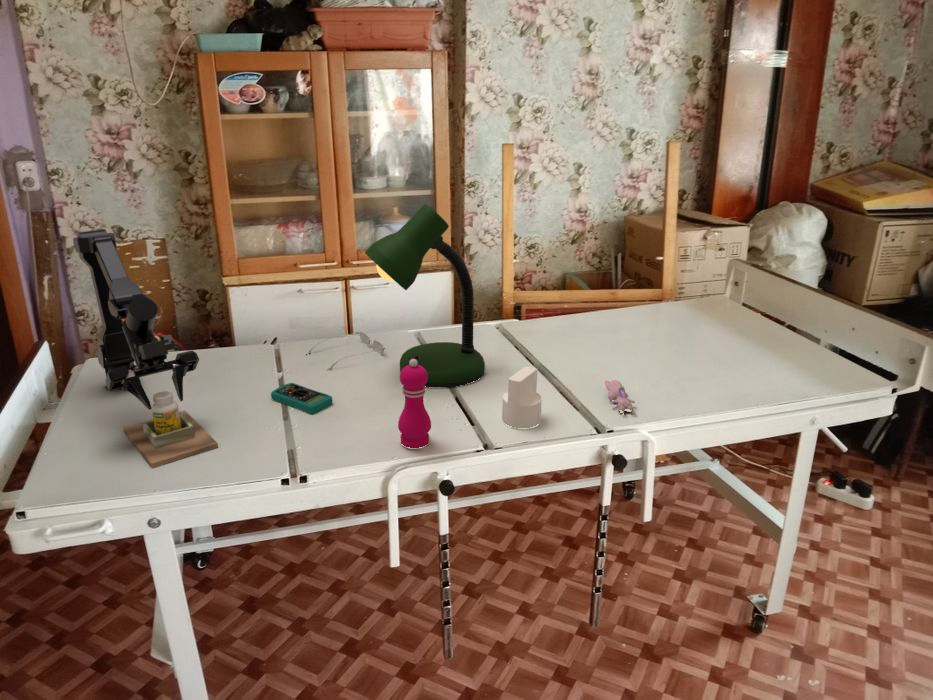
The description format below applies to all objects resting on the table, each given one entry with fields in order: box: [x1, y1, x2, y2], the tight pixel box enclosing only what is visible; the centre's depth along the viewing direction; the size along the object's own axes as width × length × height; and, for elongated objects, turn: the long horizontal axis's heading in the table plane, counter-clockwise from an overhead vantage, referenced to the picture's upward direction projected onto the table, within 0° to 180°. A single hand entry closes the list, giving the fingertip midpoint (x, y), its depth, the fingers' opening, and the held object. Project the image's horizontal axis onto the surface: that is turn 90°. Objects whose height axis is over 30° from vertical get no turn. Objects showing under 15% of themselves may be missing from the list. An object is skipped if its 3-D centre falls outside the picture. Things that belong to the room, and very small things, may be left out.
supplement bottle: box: [151, 390, 182, 436], centre depth 165 cm, size 5×5×10 cm
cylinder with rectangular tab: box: [501, 365, 543, 428], centre depth 174 cm, size 9×9×12 cm
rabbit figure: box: [604, 379, 636, 414], centre depth 185 cm, size 6×6×15 cm
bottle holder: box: [122, 410, 219, 468], centre depth 166 cm, size 20×14×4 cm
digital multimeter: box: [270, 382, 333, 415], centre depth 185 cm, size 7×15×3 cm, turn 56°
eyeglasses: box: [305, 331, 386, 372], centre depth 212 cm, size 15×18×4 cm
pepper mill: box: [397, 359, 432, 448], centre depth 163 cm, size 7×7×20 cm
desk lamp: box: [364, 203, 486, 389], centre depth 193 cm, size 31×23×45 cm
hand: (166, 404), depth 162 cm, fingers open, 6 cm apart
